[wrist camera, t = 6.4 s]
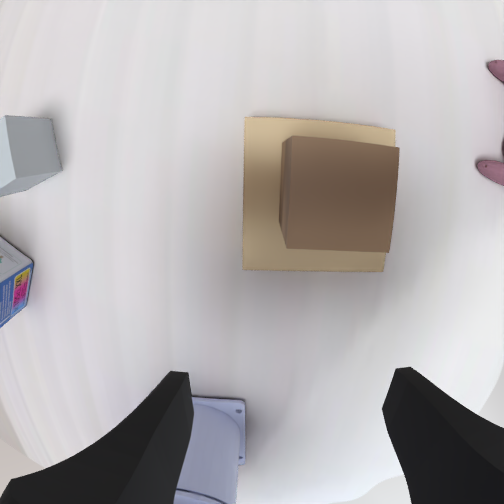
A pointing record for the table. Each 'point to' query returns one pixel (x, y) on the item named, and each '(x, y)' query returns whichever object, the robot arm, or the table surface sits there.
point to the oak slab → (268, 196)
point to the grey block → (26, 153)
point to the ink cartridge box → (13, 281)
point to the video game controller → (488, 168)
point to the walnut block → (337, 194)
